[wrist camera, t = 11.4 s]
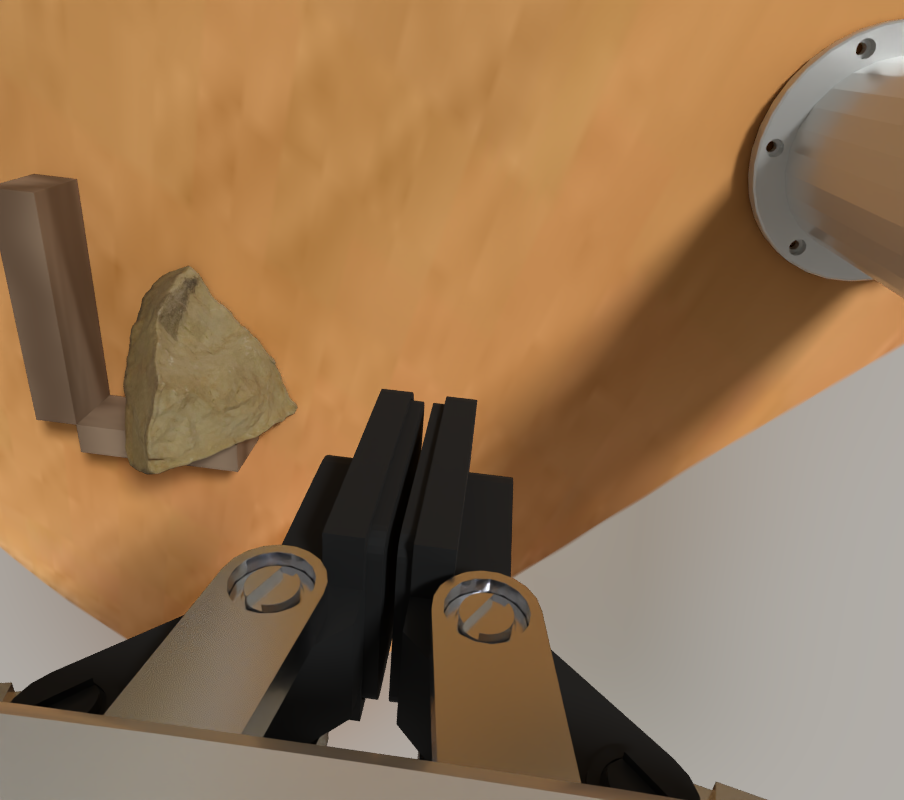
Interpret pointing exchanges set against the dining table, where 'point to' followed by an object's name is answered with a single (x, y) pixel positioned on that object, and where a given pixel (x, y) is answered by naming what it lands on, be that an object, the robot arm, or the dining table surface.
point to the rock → (194, 378)
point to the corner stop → (66, 316)
